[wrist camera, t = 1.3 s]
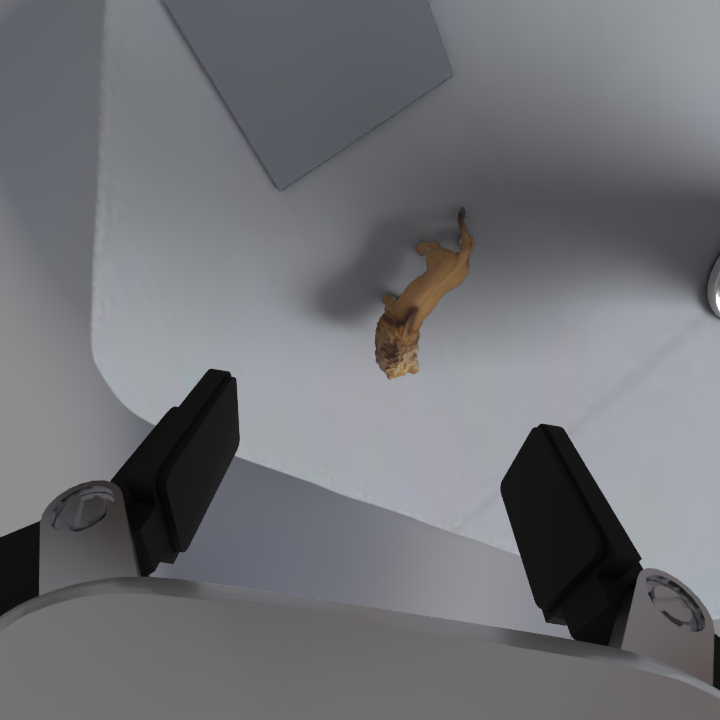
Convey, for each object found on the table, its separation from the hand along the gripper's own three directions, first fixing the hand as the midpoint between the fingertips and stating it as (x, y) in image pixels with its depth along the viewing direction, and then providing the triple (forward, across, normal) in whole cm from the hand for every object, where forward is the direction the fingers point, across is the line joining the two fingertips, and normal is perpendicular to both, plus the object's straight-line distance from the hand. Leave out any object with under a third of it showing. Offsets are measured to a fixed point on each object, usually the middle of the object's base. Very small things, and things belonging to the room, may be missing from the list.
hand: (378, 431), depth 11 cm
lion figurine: (+26, -4, +4) cm, 26 cm away
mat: (+26, +8, -13) cm, 30 cm away
